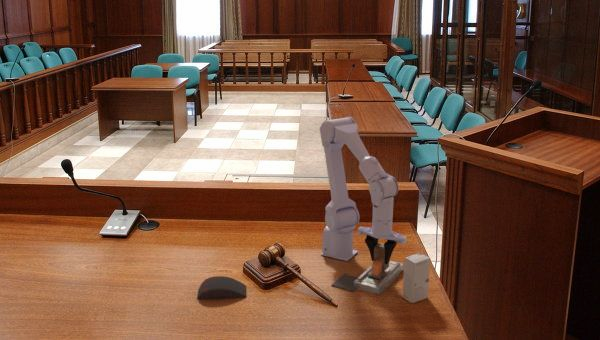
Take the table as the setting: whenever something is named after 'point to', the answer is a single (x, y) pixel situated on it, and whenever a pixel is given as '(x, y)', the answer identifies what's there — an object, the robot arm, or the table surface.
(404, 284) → the skincare box
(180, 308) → the table surface
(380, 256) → the brown rectangular block
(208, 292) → the computer mouse
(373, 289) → the breaker panel
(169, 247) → the table surface
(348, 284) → the rubber pad
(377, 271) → the lever
